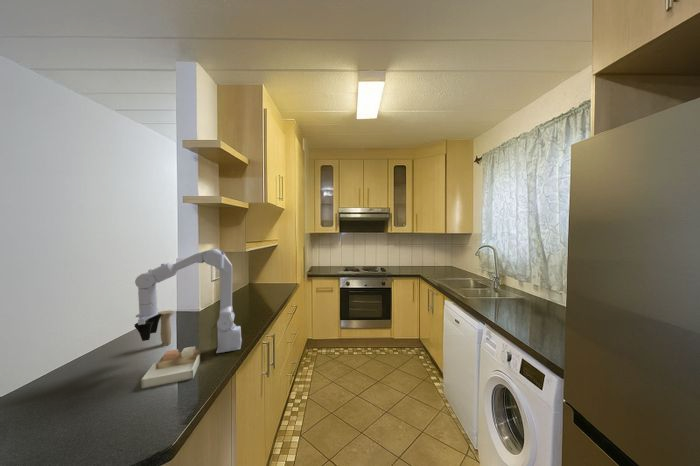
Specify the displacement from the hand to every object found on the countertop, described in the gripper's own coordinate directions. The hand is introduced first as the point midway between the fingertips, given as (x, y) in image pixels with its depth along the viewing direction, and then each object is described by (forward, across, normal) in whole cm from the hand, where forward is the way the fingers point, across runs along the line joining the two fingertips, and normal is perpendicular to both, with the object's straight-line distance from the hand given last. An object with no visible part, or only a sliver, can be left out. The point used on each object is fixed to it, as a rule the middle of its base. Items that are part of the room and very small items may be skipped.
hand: (149, 336), depth 104 cm
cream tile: (+8, +6, +14) cm, 17 cm away
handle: (+10, -16, +1) cm, 19 cm away
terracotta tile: (+8, +6, +8) cm, 13 cm away
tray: (+10, +15, +12) cm, 21 cm away
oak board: (+10, +6, +12) cm, 16 cm away
